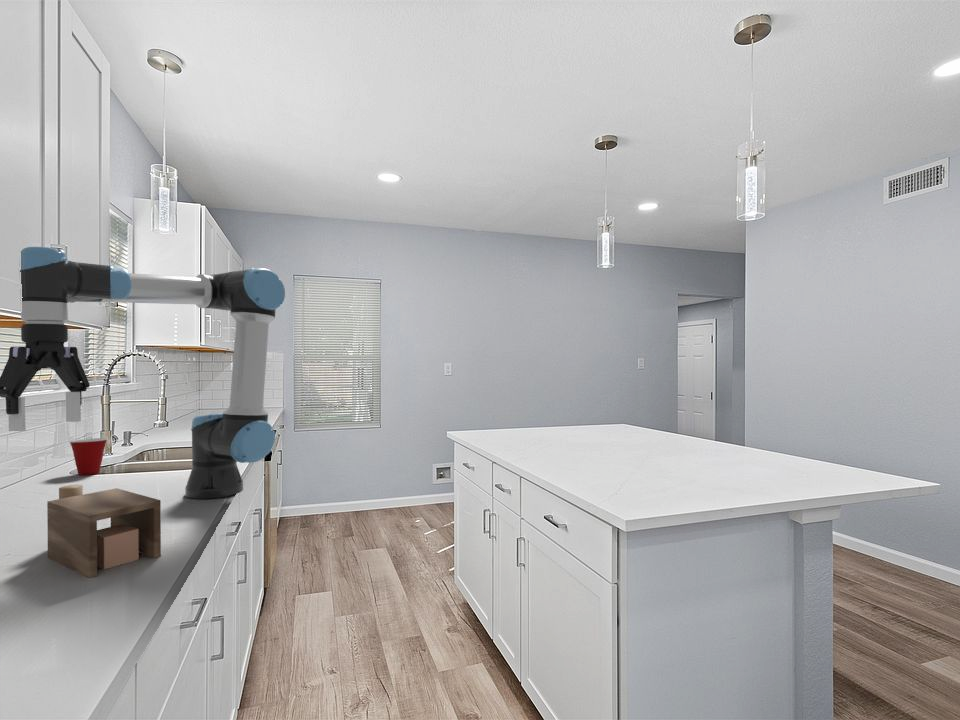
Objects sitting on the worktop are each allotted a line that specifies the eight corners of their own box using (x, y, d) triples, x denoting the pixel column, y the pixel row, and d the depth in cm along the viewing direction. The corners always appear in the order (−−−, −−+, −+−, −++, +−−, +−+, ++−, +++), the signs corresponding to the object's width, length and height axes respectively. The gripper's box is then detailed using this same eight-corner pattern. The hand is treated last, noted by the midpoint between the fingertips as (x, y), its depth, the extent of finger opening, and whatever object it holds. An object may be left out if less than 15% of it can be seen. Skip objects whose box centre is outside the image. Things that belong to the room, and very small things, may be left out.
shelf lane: (116, 539, 117) (116, 488, 117) (160, 556, 107) (160, 500, 107) (47, 557, 106) (47, 501, 106) (89, 577, 97) (89, 515, 97)
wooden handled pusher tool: (83, 537, 118) (82, 482, 118) (138, 559, 106) (138, 498, 106) (50, 545, 113) (49, 488, 113) (104, 569, 101) (104, 505, 100)
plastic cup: (109, 469, 189) (109, 435, 189) (106, 474, 180) (106, 439, 180) (71, 472, 184) (71, 437, 184) (66, 478, 175) (66, 441, 175)
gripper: (75, 326, 124) (77, 418, 124) (-33, 320, 99) (-31, 435, 99) (107, 325, 123) (109, 418, 124) (5, 320, 98) (8, 435, 99)
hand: (47, 426), depth 111 cm, fingers open, 13 cm apart
